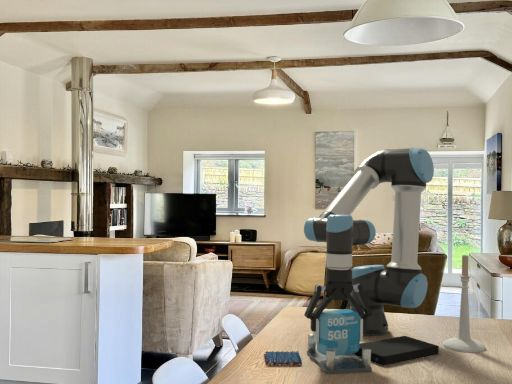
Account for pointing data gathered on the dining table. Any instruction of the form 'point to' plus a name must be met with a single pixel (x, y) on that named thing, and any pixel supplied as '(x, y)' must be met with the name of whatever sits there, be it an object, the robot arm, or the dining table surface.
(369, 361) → the chassis
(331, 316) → the data package
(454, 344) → the candlestick
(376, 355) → the external hard drive
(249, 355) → the dining table surface
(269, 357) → the woven mat
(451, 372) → the dining table surface
